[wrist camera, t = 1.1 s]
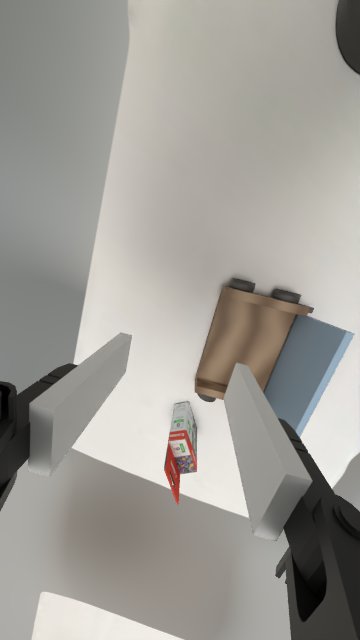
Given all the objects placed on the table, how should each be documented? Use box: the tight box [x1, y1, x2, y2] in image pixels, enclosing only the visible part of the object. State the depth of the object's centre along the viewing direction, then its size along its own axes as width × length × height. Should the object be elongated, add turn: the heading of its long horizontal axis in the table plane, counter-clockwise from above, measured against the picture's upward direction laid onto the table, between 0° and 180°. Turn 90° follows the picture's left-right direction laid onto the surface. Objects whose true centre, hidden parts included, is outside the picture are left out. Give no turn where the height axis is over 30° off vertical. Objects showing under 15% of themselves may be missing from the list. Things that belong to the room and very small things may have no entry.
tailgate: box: [263, 314, 354, 438], centre depth 31 cm, size 1×18×12 cm, turn 167°
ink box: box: [164, 402, 197, 504], centre depth 36 cm, size 4×8×15 cm, turn 16°
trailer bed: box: [195, 278, 314, 402], centre depth 35 cm, size 16×24×4 cm, turn 166°
